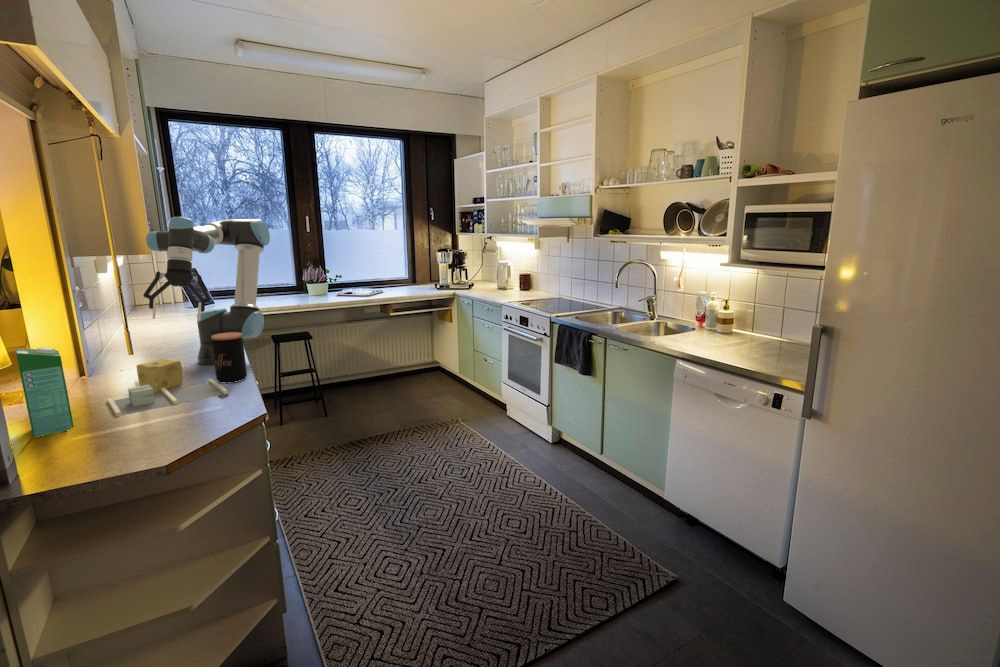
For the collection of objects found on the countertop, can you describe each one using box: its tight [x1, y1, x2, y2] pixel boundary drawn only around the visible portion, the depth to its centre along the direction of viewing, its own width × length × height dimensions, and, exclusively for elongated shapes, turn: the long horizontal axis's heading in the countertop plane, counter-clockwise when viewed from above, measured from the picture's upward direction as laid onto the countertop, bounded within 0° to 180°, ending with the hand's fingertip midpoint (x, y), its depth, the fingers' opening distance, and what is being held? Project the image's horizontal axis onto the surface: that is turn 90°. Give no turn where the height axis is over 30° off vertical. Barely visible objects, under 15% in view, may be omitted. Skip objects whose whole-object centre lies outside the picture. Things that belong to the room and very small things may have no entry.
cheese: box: [136, 358, 184, 393], centre depth 188 cm, size 10×11×10 cm
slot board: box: [106, 378, 229, 417], centre depth 176 cm, size 19×32×2 cm, turn 134°
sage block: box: [127, 385, 155, 407], centre depth 170 cm, size 6×6×5 cm
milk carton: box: [14, 346, 75, 438], centre depth 148 cm, size 9×9×25 cm
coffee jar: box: [211, 332, 248, 384], centre depth 198 cm, size 11×11×18 cm
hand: (176, 319), depth 180 cm, fingers open, 13 cm apart
